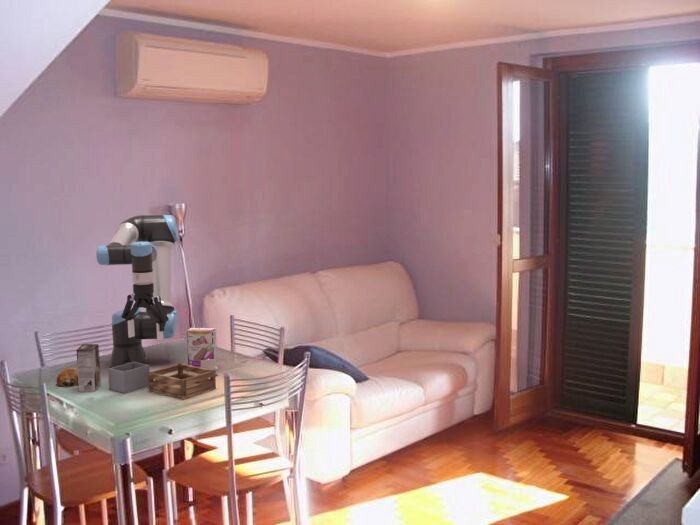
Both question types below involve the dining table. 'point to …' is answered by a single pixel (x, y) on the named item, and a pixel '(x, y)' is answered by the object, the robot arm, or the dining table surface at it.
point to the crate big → (181, 381)
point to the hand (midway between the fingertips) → (145, 338)
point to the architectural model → (208, 364)
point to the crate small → (128, 377)
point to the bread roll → (68, 377)
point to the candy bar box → (201, 345)
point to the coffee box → (88, 367)
